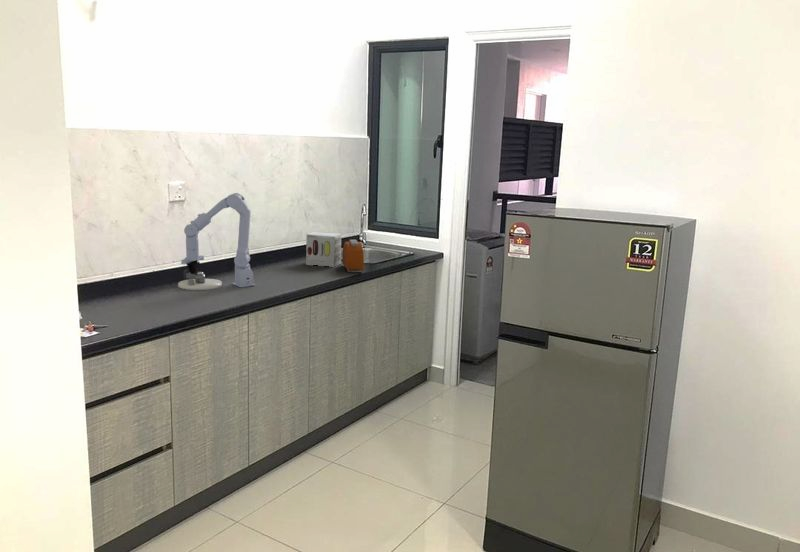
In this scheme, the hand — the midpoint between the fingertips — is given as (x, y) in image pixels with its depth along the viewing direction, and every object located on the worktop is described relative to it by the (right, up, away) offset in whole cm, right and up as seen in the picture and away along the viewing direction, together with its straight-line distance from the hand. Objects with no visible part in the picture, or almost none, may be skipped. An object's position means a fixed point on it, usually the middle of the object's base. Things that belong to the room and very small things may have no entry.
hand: (193, 276), depth 312 cm
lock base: (+4, -4, -3) cm, 7 cm away
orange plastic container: (+73, +4, +51) cm, 89 cm away
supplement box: (+56, +7, +62) cm, 83 cm away
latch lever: (+1, -2, -2) cm, 3 cm away
